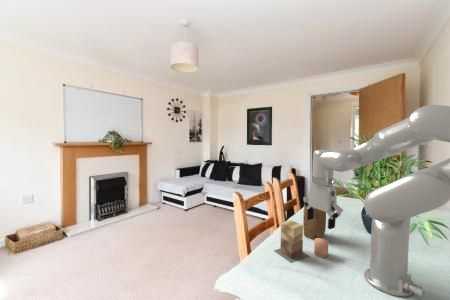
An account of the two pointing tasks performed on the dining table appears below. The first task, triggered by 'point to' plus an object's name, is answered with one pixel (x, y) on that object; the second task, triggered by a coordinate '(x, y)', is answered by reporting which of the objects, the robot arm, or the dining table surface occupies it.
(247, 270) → the dining table surface
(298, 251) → the block
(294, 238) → the tower top
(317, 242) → the peach egg-shaped pebble
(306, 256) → the mat
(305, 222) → the block
